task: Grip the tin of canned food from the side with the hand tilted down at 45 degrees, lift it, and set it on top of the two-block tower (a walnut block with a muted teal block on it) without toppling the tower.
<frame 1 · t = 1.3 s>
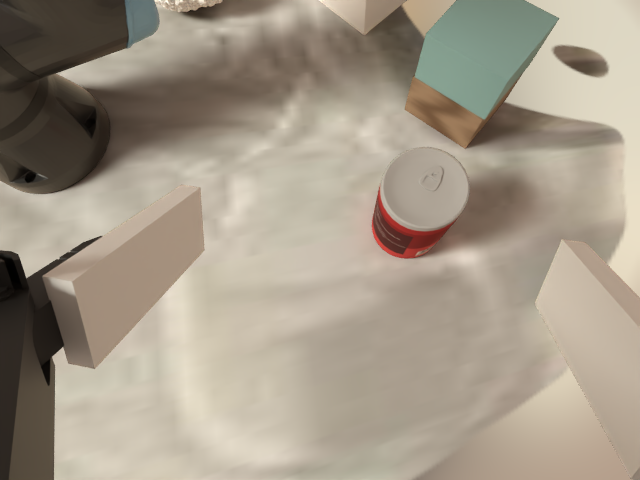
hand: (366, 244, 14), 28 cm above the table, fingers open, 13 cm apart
teal block: (472, 70, 42), point 6 cm above the table, touching walnut block
canned food: (404, 227, 44), on the table
walnut block: (454, 104, 48), on the table, touching teal block
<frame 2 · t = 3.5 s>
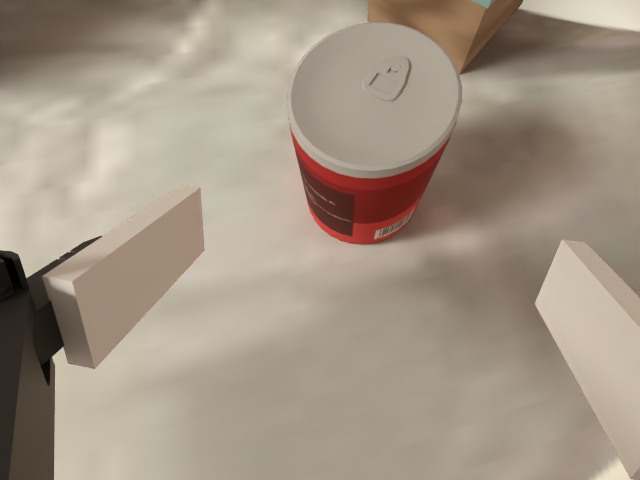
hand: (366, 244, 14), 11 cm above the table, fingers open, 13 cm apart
canned food: (362, 196, 27), on the table
walnut block: (443, 13, 32), on the table, touching teal block
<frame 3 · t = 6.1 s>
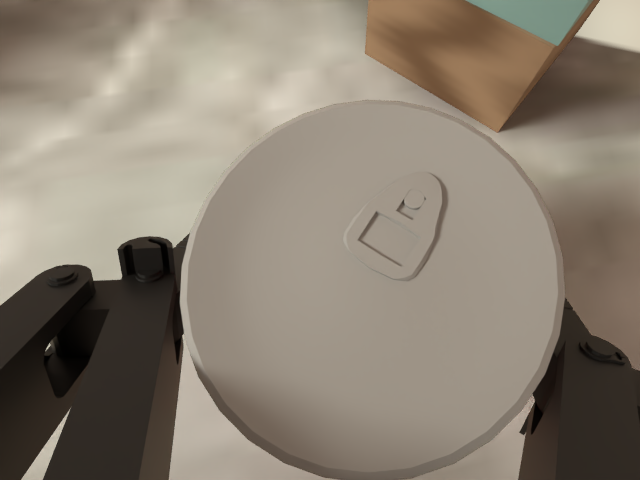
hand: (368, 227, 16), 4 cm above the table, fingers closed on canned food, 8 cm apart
canned food: (353, 321, 18), on the table, touching gripper
walnut block: (471, 42, 23), on the table, touching teal block
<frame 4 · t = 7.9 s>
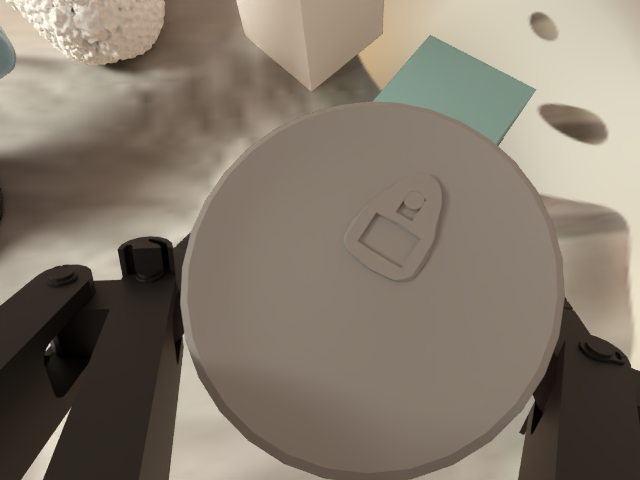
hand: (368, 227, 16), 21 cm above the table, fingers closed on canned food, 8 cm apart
cauliflower: (122, 24, 49), on the table
milk: (312, 36, 46), on the table
teal block: (431, 146, 34), point 6 cm above the table, touching walnut block
canned food: (353, 321, 18), point 17 cm above the table, touching gripper
when the fingers open (17 cm above the table, at t = 10.8 s): canned food drops 1 cm, resting on teal block.
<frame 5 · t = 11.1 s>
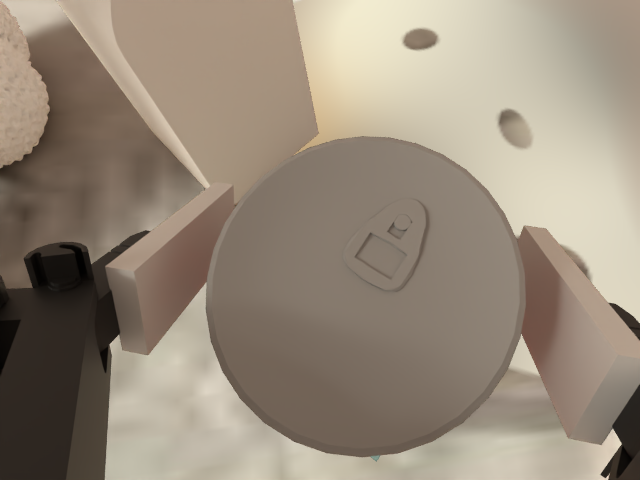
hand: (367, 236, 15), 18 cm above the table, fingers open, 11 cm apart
cauliflower: (8, 112, 40), on the table
milk: (234, 133, 38), on the table
canned food: (352, 324, 20), point 12 cm above the table, touching teal block
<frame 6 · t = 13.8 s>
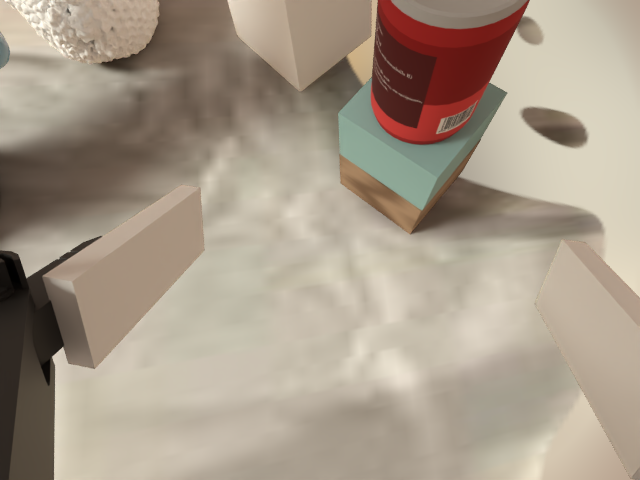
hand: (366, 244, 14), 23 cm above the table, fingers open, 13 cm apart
cauliflower: (119, 23, 50), on the table
milk: (303, 37, 47), on the table
teal block: (410, 146, 35), point 6 cm above the table, touching canned food, walnut block
canned food: (420, 104, 29), point 12 cm above the table, touching teal block
walnut block: (401, 177, 40), on the table, touching teal block
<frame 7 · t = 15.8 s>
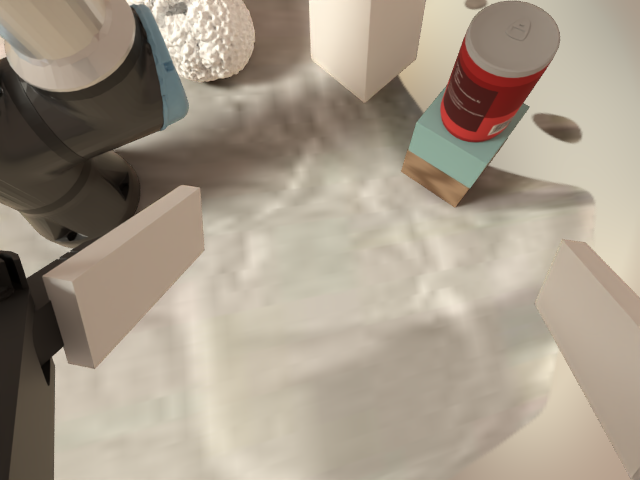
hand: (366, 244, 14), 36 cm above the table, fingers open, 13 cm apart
cauliflower: (214, 49, 64), on the table
milk: (363, 60, 61), on the table
teal block: (458, 143, 49), point 6 cm above the table, touching canned food, walnut block
canned food: (472, 115, 43), point 12 cm above the table, touching teal block
walnut block: (445, 166, 54), on the table, touching teal block
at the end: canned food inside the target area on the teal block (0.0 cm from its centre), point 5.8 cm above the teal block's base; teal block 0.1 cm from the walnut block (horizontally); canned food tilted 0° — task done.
